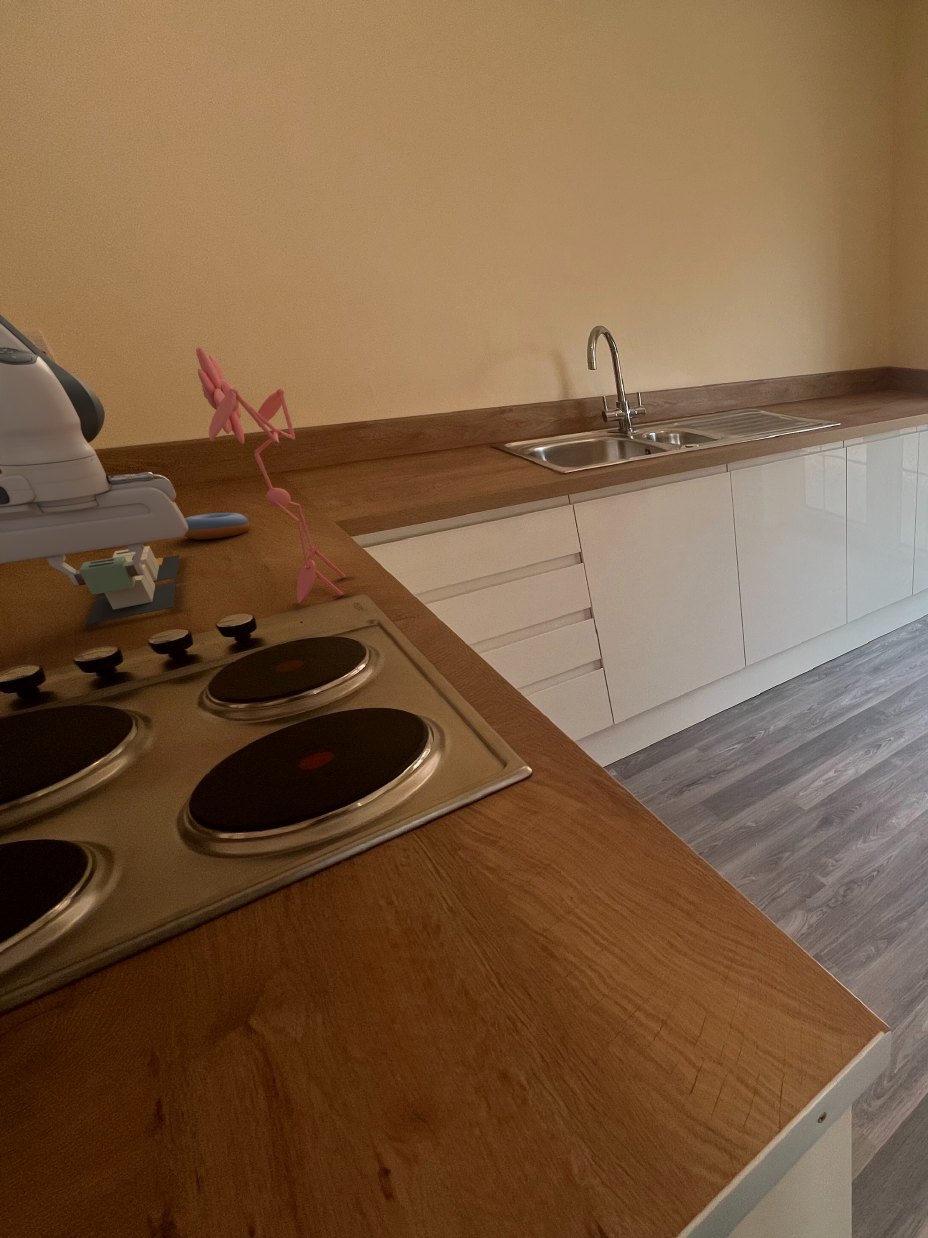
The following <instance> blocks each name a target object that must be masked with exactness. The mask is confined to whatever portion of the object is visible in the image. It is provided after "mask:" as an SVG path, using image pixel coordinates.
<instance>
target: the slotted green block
mask: <svg viewBox="0 0 928 1238" xmlns="http://www.w3.org/2000/svg"><path fill="white" fill-rule="evenodd" d="M126 563H127V561H126V559H125V557H124V556H122V557H116V558H113V557H110V558H104V559H96V560H91V561H85V562H82V564H81V566H80V568H79V569H78V570H79V572H80V573H81V575H82V577H83V579H84V581H85V583H86V587H87V589H88V590H89V592H90V594H91V595H92V596H94V595H95V596H96V595H100V594H105V593H106V592H112V591H118V590H124V589H129V588H133V587H134V584H135V580H136V579H135V577H130V575H129V574H128V571H127V570H126V568H125V565H126Z"/></svg>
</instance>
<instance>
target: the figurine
mask: <svg viewBox="0 0 928 1238" xmlns="http://www.w3.org/2000/svg"><path fill="white" fill-rule="evenodd" d="M195 351H196V356H197V360H198V364H199V366H200V368H197V375H198V379H199V381H200V382H201V388H202V390H201V391H202V392H203V397H204V398H205V399H206V400H207V402H208V404H209V405H210V406H211V408H212V409H214V410H215V411H214V413H213V416H212V418H211V421H210V425H209V430H208V440H209V441H211V442H213V441H214V440H215V439H216V438H217V436H218V435H219V433H220V432H221V430H223V431H224V433H226V434H227V435H229V434H231V432H232V433H233V434H234V436H235V437H236V439H237V440H238V442H239V443H240V444H241V445H245V440H246V439H245V435H244V433H245V432H244V428H243V426H242V422H241V420H240V418H241V417H242V412H241V409H240V405H241V406H242V407H243V408H244V410H245V411H246V412H247V413H248V414H249V415H250V417H251V418H252V419H253V420H254V421H255V422H256V423H257V425H258V427H259V428H261V430H262V431H263V432H264V433H265V434H266V436H267V437H268V439H267V440H266V441H265V442H263V443H261V445H260V446H258V447H257V448H256V449H255V450H254V453H253V457H254V458H255V460H256V462H257V464H258V467H259V468H260V471H261V473H262V475H263V477H264V480H265V482H266V484H267V486H268V488H269V489H268V491H267V492H266V496H265V497H266V500H267V502H268V503H269V504H271V505H272V506H274V507H277V508H280V509H282V510H283V511H284V512H285V513H287V514H288V515H289V516H290V517H291V518H292V519H294V520H295V521H296V522H297V525H298V531H299V537H300V542H301V548H302V551H303V552H302V554H303V558H304V564H303V566H302V568H301V569H300V572H299V574H298V576H297V577H298V578H297V581H296V598H297V603H298V604H303V603H304V602H305V600H306V599H307V598H308V595H309V594H310V593H311V591H312V588H313V587H314V584H315V579H316V576H317V577H318V578H319V580H321V581H322V582H323V583H324V584H326V586H328V587H329V589H331V590H332V591H334V592H335V593H336V594H337V595H338V596H339V597H342V596H343V595H344V593H343V592H342V591H341V590H340V589H339V588H337V587H336V586H335V585H334V584H333V583H332V582H331V581H330V580H328V579H327V578H326V577H325V576H324V575H323V574H321V572H319V571H318V570H317V567H316V566H317V564H316V563H315V561H314V560H313V559H314V558H315V555H316V556H317V557H319V558H320V559H321V560H322V561H323V562H324V563H325V564H327V566H329V567H330V569H332V570H333V571H334V572H336V573H337V574H338V576H340V578H342V579H344V578H346V577H347V575H346V574H344V572H343V571H341V570H340V569H339V568H338V567H337V566H336V565H334V564H333V562H331V561H330V560H329V559H328V558H326V556H325V555H324V554H322V553H321V551H319V550H318V548H319V544H318V543H315V545H313V543H312V540H311V536H310V532H309V529H308V525H307V523H306V520H305V516H304V512H303V509H302V506H301V504H300V503H297V502H295V501H291V500H292V499H291V495H290V493H289V492H288V491H287V490H285V489H283V488H281V487H273V485H272V482H271V480H270V478H269V475H268V472H267V470H266V468H265V465H264V463H263V460H262V458H261V454H260V453H261V452H262V451H264V449H266V448H267V447H268V446H269V445H270V444H271V443H273V444H274V445H275V446H279V444H280V441H279V438H282V437H285V438H288V439H289V440H293V441H294V440H296V434H295V430H294V427H293V423H292V420H291V417H290V412H289V409H288V405H287V402H286V399H285V391H284V390H283V388H282V389H281V388H278V389H276V391H275V392H273V393H272V394H270V395H269V396H268V397H267V398H266V399H265V401H264V402H263V403H262V404H261V406H260V407H259V409H258V411H257V410H255V409H254V408H253V407H252V406H251V404H249V403H248V402H247V401H245V400H244V399H243V398H242V397H241V395H240V394H239V390H237V389H236V388H233V387H232V385H231V384H230V383H229V382H228V381H227V380H226V379H225V376H224V373H223V371H222V368H221V366H220V364H219V363H220V362H219V361H218V359H217V358H216V357H215V355H213V354H210V355H208V354H207V353H206V352H205V350H204V349H203V347H200V346H197V347H196V348H195ZM239 404H240V405H239ZM280 408H282V411H283V414H284V417H285V421H286V424H287V428H288V433H287V432H285V431H283V430H281V429H279V428H276V427H275V426H273V424H272V423H270V420H271V419H272V418H274V416H275V415H276V414H277V413H278V411H279V410H280ZM267 427H268V428H269V429H270V430H271V431H272V432H271V431H270V430H269V429H268V428H267ZM289 504H290V505H293V506H296V507H297V509H298V512H299V515H300V519H301V520H300V519H299V518H298V517H297V516H295V514H293V513H292V512H290V511H289V510H288V509H287V508H286V507H285V506H287V505H289ZM303 528H304V529H303ZM304 532H305V535H306V538H307V541H308V544H309V547H310V548H309V549H308V551H309V552H310V554H309V556H308V553H307V547H306V542H305V537H304ZM351 565H353V563H346V564H340V566H351Z"/></svg>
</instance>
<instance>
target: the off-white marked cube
mask: <svg viewBox="0 0 928 1238" xmlns="http://www.w3.org/2000/svg"><path fill="white" fill-rule="evenodd" d="M143 553H148V554H149V556H150V558H151V560H152V563H153V565H154V567H155V569H156V571H157V573H158V570H159V565H158V563H157V561H156V559H157V557H155V554H154V552H153V550H152V548H151V546H150V545H146V546H144V549H143ZM143 553H142V554H143ZM130 555H135V552H132V553H130V552H129V551H128V549H127V548H126V549H121V550H115V551H114V552H113V555H112V558H116V557H122V556H130Z"/></svg>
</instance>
